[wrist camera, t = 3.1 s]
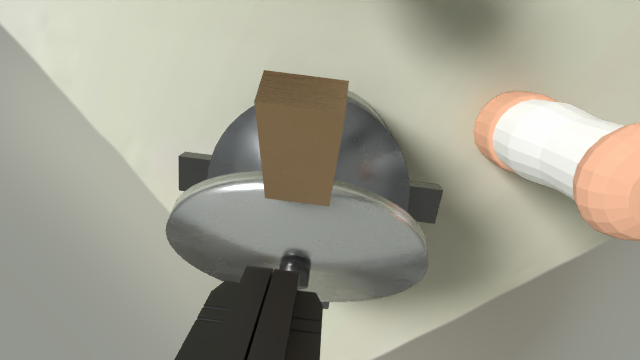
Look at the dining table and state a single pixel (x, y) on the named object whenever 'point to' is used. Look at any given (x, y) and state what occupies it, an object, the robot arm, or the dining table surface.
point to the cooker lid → (300, 206)
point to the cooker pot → (352, 164)
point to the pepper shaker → (567, 156)
